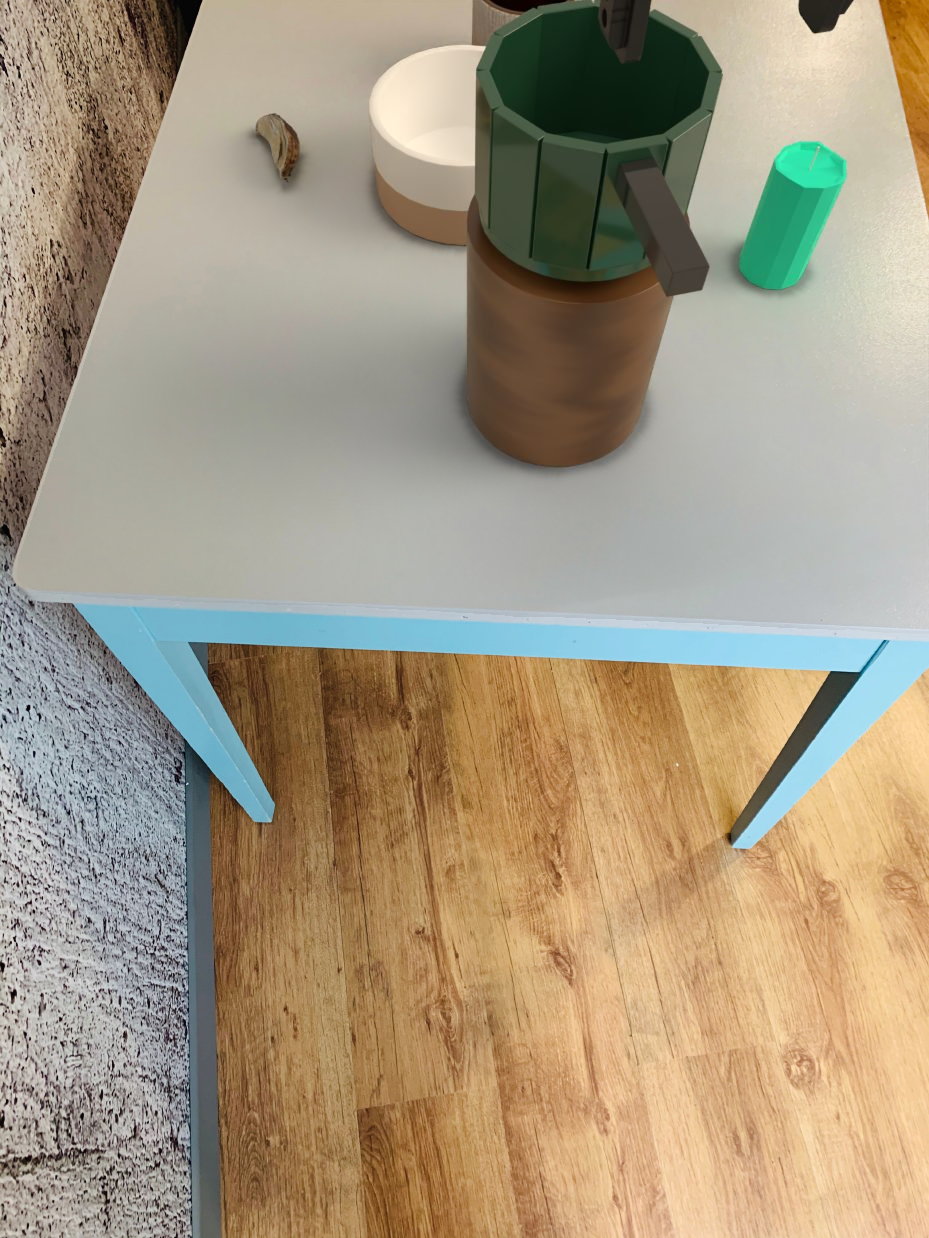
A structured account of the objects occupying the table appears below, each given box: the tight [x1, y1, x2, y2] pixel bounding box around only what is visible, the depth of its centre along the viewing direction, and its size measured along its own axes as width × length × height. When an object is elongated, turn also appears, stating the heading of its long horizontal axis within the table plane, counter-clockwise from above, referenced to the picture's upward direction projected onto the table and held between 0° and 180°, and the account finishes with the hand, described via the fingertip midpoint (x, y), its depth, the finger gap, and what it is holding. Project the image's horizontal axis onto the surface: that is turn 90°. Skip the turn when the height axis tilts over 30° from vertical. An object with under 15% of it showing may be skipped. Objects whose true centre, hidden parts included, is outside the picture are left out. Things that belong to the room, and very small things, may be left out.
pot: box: [475, 0, 724, 297], centre depth 50 cm, size 22×14×9 cm, turn 14°
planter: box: [471, 0, 578, 47], centre depth 87 cm, size 11×11×10 cm
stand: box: [466, 194, 691, 468], centre depth 65 cm, size 15×15×18 cm
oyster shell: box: [254, 112, 301, 184], centre depth 85 cm, size 6×4×10 cm
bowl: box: [368, 44, 486, 246], centre depth 81 cm, size 17×17×8 cm
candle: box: [738, 140, 848, 291], centre depth 74 cm, size 6×6×12 cm
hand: (720, 37), depth 36 cm, fingers open, 8 cm apart
